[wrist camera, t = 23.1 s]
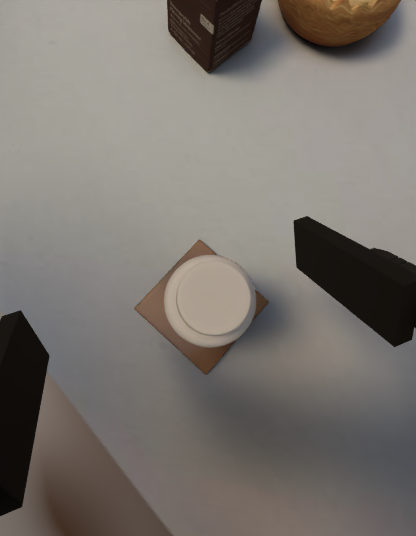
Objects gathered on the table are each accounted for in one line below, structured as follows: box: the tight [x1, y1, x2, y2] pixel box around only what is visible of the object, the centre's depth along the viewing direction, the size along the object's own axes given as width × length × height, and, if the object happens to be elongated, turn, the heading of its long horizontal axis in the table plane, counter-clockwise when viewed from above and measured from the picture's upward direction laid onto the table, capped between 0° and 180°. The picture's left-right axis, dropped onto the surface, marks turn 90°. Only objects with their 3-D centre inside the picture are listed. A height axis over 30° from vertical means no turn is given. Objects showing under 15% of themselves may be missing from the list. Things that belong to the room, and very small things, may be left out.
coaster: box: [134, 240, 268, 375], centre depth 27 cm, size 8×8×1 cm
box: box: [167, 0, 262, 72], centre depth 28 cm, size 6×6×7 cm
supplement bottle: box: [164, 255, 256, 348], centre depth 22 cm, size 6×6×10 cm
